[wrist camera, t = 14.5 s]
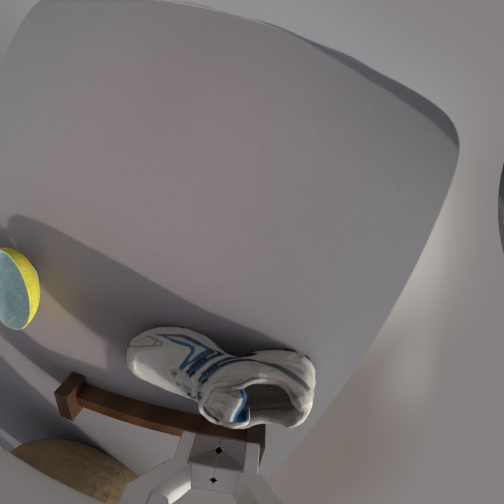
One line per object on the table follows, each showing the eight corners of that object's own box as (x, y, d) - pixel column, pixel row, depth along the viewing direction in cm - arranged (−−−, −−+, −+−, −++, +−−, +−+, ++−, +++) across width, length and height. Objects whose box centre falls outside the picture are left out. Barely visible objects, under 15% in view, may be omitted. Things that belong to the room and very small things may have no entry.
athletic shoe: (131, 317, 36) (95, 388, 25) (318, 324, 35) (334, 406, 25) (147, 370, 40) (123, 437, 30) (308, 378, 40) (316, 451, 29)
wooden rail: (265, 417, 39) (265, 447, 33) (259, 439, 40) (258, 468, 34) (72, 371, 39) (53, 392, 34) (77, 394, 41) (60, 415, 35)
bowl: (10, 303, 37) (-14, 318, 31) (4, 234, 35) (-24, 242, 29) (59, 321, 37) (35, 340, 31) (54, 244, 35) (25, 255, 29)
